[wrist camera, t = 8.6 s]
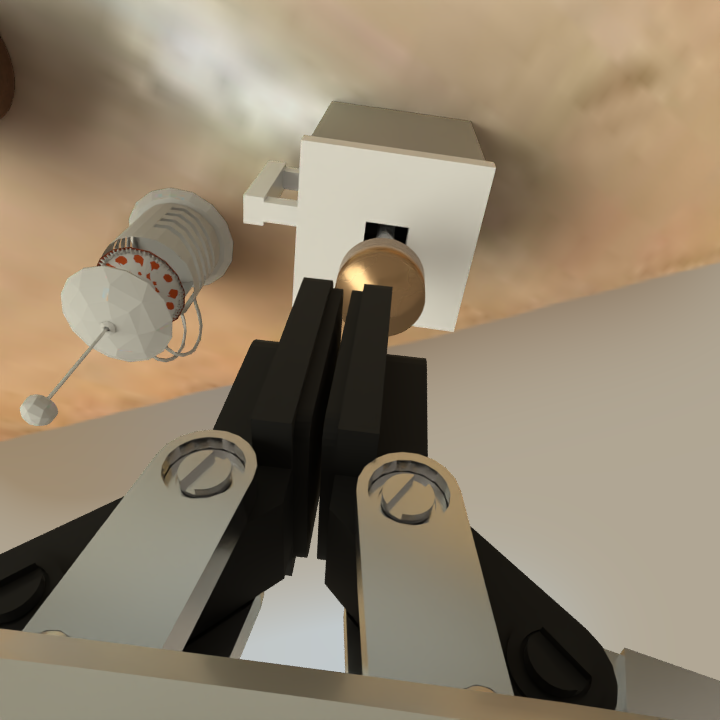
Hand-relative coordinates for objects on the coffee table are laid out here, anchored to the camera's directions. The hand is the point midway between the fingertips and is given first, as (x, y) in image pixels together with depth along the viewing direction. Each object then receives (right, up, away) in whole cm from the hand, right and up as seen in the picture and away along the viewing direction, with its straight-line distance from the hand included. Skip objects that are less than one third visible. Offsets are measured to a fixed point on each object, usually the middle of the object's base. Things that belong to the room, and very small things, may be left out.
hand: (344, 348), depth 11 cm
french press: (-16, +10, +41) cm, 45 cm away
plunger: (+3, +14, +34) cm, 37 cm away
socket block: (+1, +15, +36) cm, 39 cm away
